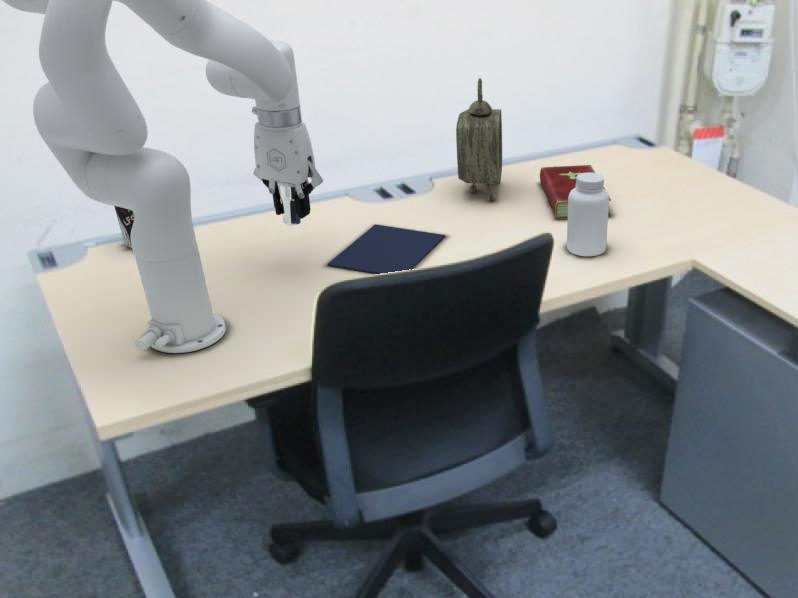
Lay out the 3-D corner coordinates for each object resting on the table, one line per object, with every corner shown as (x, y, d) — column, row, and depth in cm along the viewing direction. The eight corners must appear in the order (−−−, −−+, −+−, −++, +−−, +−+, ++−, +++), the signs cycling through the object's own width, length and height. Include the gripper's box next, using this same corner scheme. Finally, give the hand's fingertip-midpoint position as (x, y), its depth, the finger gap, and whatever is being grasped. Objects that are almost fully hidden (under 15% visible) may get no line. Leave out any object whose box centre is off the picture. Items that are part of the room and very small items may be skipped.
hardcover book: (555, 219, 193) (555, 200, 190) (539, 183, 210) (539, 166, 207) (609, 216, 194) (611, 197, 192) (590, 181, 211) (590, 163, 209)
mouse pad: (402, 278, 169) (402, 276, 169) (327, 265, 173) (327, 263, 173) (445, 236, 185) (445, 234, 185) (375, 226, 189) (375, 224, 189)
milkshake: (302, 229, 168) (299, 177, 163) (275, 224, 169) (271, 173, 163) (312, 220, 172) (309, 169, 167) (286, 215, 173) (282, 165, 167)
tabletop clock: (499, 204, 199) (497, 89, 185) (458, 204, 199) (453, 88, 185) (502, 180, 211) (500, 70, 197) (464, 180, 211) (459, 70, 197)
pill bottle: (614, 248, 181) (618, 176, 172) (588, 261, 176) (591, 187, 167) (584, 237, 185) (587, 166, 177) (558, 249, 180) (560, 177, 172)
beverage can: (125, 252, 178) (109, 194, 171) (125, 240, 182) (109, 183, 175) (156, 248, 179) (141, 190, 172) (155, 236, 184) (140, 180, 177)
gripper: (226, 116, 159) (243, 215, 169) (310, 127, 155) (322, 227, 165) (251, 105, 165) (265, 201, 175) (332, 115, 161) (342, 213, 171)
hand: (293, 213), depth 170 cm, fingers closed on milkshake, 4 cm apart
